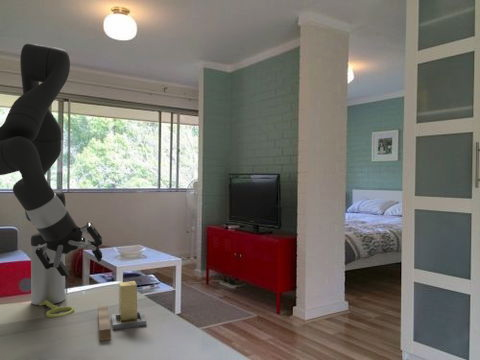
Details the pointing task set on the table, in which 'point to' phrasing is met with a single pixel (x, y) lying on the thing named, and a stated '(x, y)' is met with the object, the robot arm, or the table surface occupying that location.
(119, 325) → the keeper
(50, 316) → the key
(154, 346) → the table surface
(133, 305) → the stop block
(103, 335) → the brown square bar
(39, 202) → the robot arm
